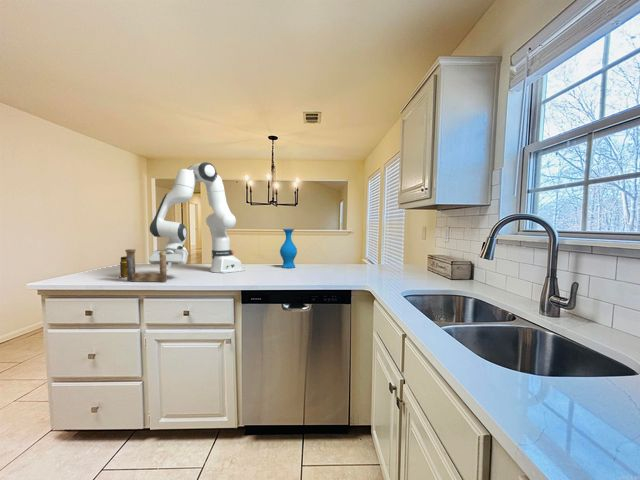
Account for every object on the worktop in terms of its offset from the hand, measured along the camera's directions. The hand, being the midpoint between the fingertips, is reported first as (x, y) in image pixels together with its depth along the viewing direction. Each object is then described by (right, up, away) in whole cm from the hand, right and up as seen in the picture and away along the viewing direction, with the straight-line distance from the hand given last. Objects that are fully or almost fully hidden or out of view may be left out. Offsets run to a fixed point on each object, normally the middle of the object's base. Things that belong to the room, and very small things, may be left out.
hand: (163, 269), depth 156 cm
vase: (+64, -4, +51) cm, 82 cm away
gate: (-8, -6, -1) cm, 10 cm away
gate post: (-19, -6, +2) cm, 20 cm away
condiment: (-29, -6, +11) cm, 32 cm away
